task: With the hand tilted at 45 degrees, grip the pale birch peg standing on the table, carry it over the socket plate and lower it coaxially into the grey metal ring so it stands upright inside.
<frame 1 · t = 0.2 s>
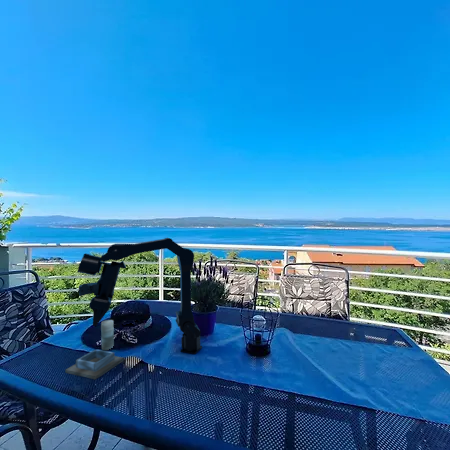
hand: (96, 321, 96), 15 cm above the table, tool tilted 15°, fingers open, 9 cm apart
socket: (95, 366, 95), on the table
peg: (107, 347, 110), on the table
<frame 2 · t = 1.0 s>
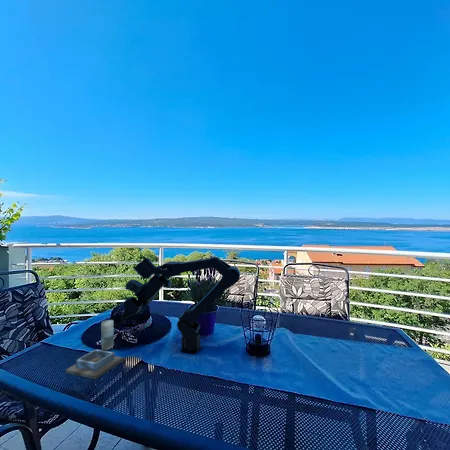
hand: (126, 315, 109), 13 cm above the table, tool tilted 45°, fingers open, 9 cm apart
nothing on the table moved.
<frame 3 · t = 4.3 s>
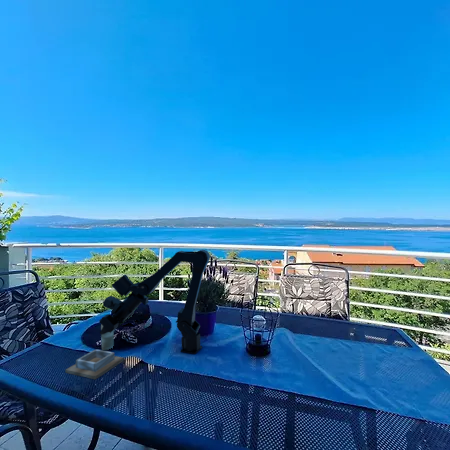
hand: (104, 331, 110), 7 cm above the table, tool tilted 45°, fingers closed on peg, 4 cm apart
peg: (107, 347, 110), on the table, touching gripper
everything else where it was.
when the fingers open (8 cm above the table, at t = 8.9 s): peg stays where it is, resting on socket.
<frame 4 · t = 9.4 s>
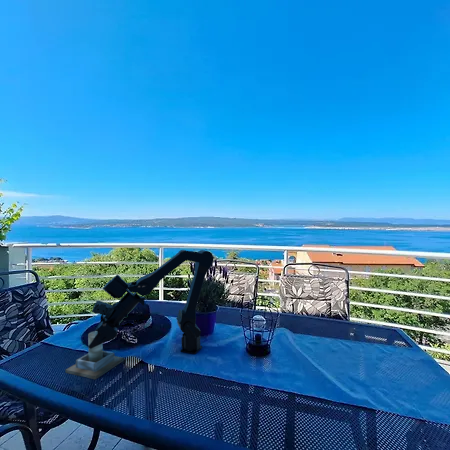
hand: (91, 342, 95), 9 cm above the table, tool tilted 45°, fingers open, 9 cm apart
peg: (95, 363, 95), point 1 cm above the table, touching socket
everything else where it was.
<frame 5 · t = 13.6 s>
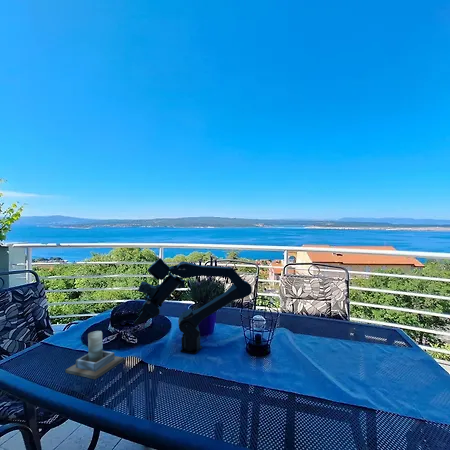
hand: (136, 319, 103), 14 cm above the table, tool tilted 45°, fingers open, 9 cm apart
at the end: peg 0.0 cm from the socket (horizontally); peg point 1.0 cm above the table; peg tilted 1° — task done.
